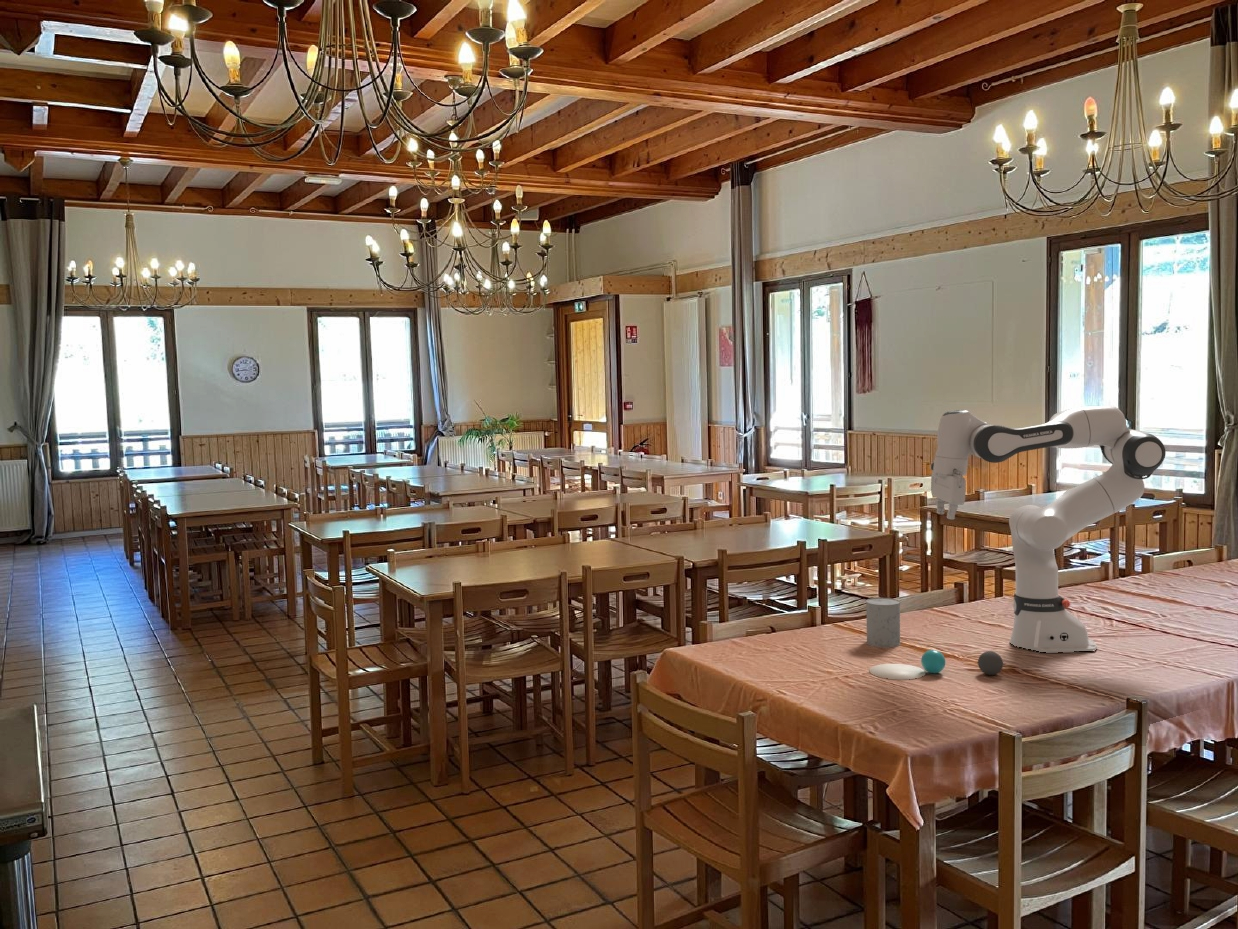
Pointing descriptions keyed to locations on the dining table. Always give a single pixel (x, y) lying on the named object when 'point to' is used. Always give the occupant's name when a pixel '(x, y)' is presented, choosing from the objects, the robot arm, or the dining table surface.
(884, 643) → the grey speckled stone cylinder
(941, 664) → the object ball
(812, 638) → the dining table surface
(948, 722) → the dining table surface
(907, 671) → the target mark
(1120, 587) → the dining table surface
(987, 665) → the dark grey ball
